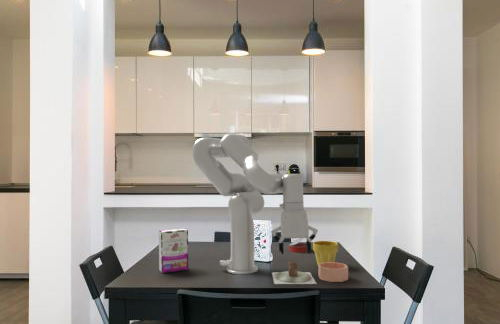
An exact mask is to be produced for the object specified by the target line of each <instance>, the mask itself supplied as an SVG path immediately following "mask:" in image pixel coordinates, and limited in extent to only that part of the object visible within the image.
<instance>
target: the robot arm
mask: <svg viewBox="0 0 500 324" xmlns="http://www.w3.org/2000/svg"><path fill="white" fill-rule="evenodd" d="M192 158H193V161H194V163H195V164H196V166H197V167H198V169H199V170H200V171H201V172H202V173H203V175H204V176H206V178H207V179H208V181H209V182H210V183H211V184H212V185H213V187H214V188H215V189H216V191H217V192H218V193H219V194H220V195H221V196H223V197H230V198H229V200H228V205H227V206H228V207H227V208H228V214H229V220H230V221H229V222H230V258H229V259H227V260H221V259H220V260H219V266H222V267H226V271H227V272H228V273H230V274H234V275H236V274H237V275H247V274H254V273H256V272H258V271H259V267H258V266H257V265H255V224H254V219H253V217H252V215H255V214H258V213H261V211H263V210H264V207H265V199H264V197H263V196H264V195H262V194H265V195H271V194H272V195H274V194H282V203H280V204H279V208H281V209H283V210H281V215H280V226H278V227H276V228H274V229H273V230H271V231H270V232H271V234H272V236H273V238H274V239H275V240H276V241H277V243H278V248H279V249H278V251H279V252H280V253H281V255H283V254H285V253H284V240H285V239H300V238H303V239H306V241H305V244H306V251H307V252H306V253H307V254H310V253H311V252H310V251H312V242H313V240H314V239H315V238H316V236H317V234H318V232H319V231H318V229H317V228H315V227H313V226H311V225H309V220H308V213H307V210H306V209H305V207H304V184H303V181H304V180H303V175H302V174H300V173H286V174H282V173H268V172H267V171H265V170H264V168H262V167H261V166H260V165H259V163H258V162H257V161H258V160H259V155H258V153H257V151H255V150H254V149H253V148H251V142H250V140H249V138H248V137H247V136H245V135H243V134H235V133H228V134H226V135H224V136H223V137H222V138H217V137H210V136H209V137H208V136H207V137H200V138H198V139H197V140H195V142H194V144H193V147H192ZM217 158H219V159H220V158H230V159H231V160H233V162H234V163H236V165H238V166H239V167H240V168H241V169H242V171H243V174H241V173H236V172H235V173H232V172H230V171H229V170H228V169H227V168H226V167H225V166H224V165H223V164H222V162H220V160H218V159H217ZM311 231H312V233H311V235H310V236H309V234H310V233H309V232H311ZM278 232H280V236H278V235H277V233H278Z"/></svg>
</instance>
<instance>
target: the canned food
mask: <svg viewBox="0 0 500 324" xmlns="http://www.w3.org/2000/svg"><path fill="white" fill-rule="evenodd" d="M303 240H304V238H297V239H295V240H294V241H292V242H291V243H289V246H288V251H289V252H291V253H299V254H303V253H307V251H306V242H305V243H303V242H302V241H303Z"/></svg>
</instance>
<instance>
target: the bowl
mask: <svg viewBox="0 0 500 324" xmlns="http://www.w3.org/2000/svg"><path fill="white" fill-rule="evenodd" d="M317 266H318V267H317V268H318V270H317V271H318V272H317V274H318V276H317V277H318V278H319V280H322V281H325V282H330V283H335V282H336V283H342V282H345V281H348V280H349V266H348V265H347V264H346V263H341V262H324V263H321V264H318V265H317Z"/></svg>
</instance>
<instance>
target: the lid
mask: <svg viewBox="0 0 500 324" xmlns="http://www.w3.org/2000/svg"><path fill="white" fill-rule="evenodd" d="M298 270H299V269H298V261H295V260H294V261H293V260H292V261H291V260H289V261H288V270H286V271H280V272H279V271H278V272H279V273H277V274H276V279H277V280H279V281H282V282H288V283H301V282H307V281H309V280H310V279H311V276H310V275H309V274H307V273H304V271H298Z"/></svg>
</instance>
